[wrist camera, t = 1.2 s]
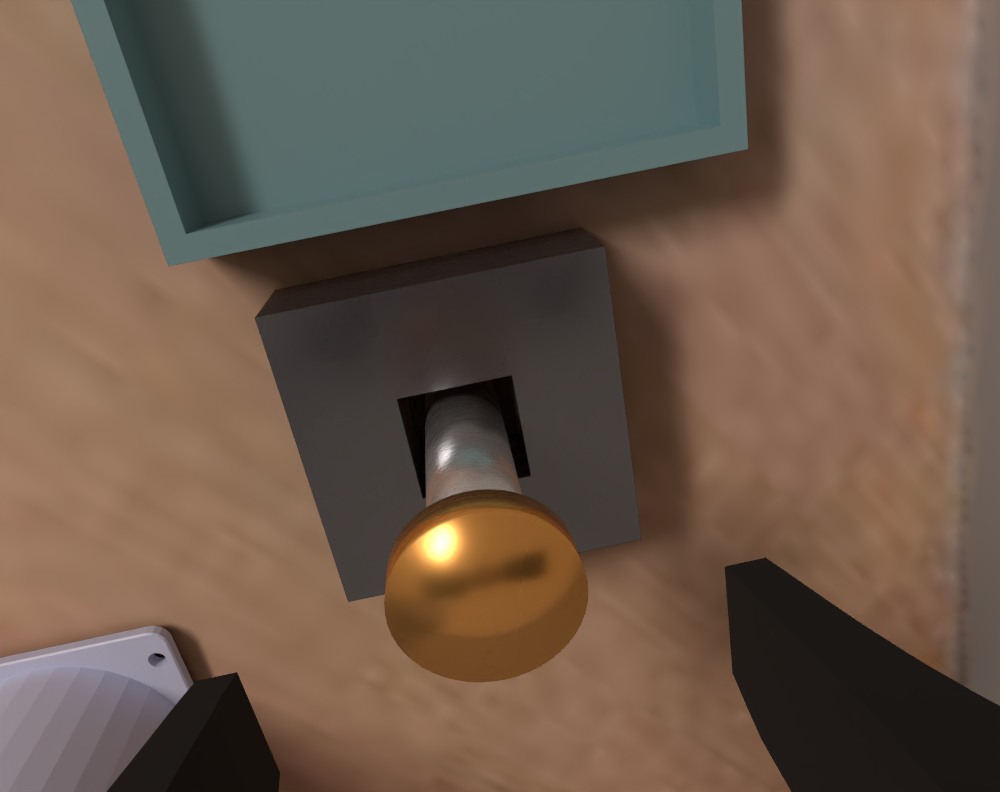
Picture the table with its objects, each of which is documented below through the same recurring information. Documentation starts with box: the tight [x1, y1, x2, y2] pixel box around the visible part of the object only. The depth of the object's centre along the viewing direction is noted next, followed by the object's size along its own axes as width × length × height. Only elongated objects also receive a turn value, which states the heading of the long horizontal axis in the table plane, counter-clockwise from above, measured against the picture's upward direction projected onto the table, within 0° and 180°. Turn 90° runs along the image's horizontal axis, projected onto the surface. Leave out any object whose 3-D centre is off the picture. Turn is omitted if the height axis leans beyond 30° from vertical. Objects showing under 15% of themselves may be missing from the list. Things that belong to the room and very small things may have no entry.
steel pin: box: [384, 380, 588, 682], centre depth 16 cm, size 3×3×9 cm
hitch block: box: [255, 228, 641, 602], centre depth 19 cm, size 8×8×2 cm
